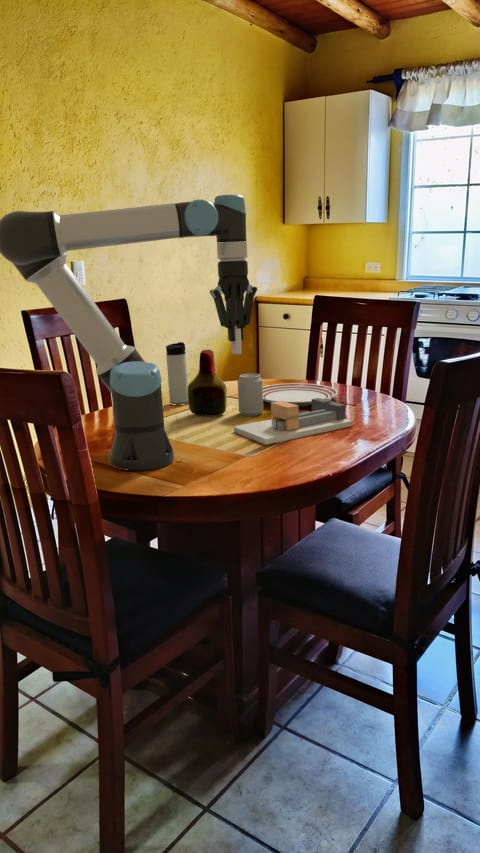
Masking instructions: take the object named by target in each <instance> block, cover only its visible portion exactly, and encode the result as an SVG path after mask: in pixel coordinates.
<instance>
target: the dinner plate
mask: <svg viewBox="0 0 480 853" xmlns="http://www.w3.org/2000/svg"><path fill="white" fill-rule="evenodd" d="M262 387H263V402H267V403H268V404H271V403H272V402H277V401H284V402H288V403H291V404H295V405H298V407H306V406H307V407H308V406H312V399H315V398H321V399H324V398H331V399H333V398H335V397H337V396H338V393H339V391H338V390H337V389H336V388H334V387H331V386H328V385H322V384H316V383H304V382H303V383H301V382H298V383H297V382H291V383H290V382H289V383H276V384H270V385H269V384H267V385H266V386H262Z"/></svg>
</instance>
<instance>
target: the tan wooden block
mask: <svg viewBox="0 0 480 853" xmlns="http://www.w3.org/2000/svg"><path fill="white" fill-rule="evenodd" d="M270 412H271V413H270V416H271V418H270V419H271V421H272V425H273V419H276V418H281V419H284V420H286V430H293V429H298V428H299V414H300V413H299V412H300V411H299V406H298V405H295V404H291V403H288V402H284V401H277V402H272V403H270Z"/></svg>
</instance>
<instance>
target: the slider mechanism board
mask: <svg viewBox="0 0 480 853" xmlns="http://www.w3.org/2000/svg"><path fill="white" fill-rule="evenodd" d="M322 409H324V410H327V412H323V413H318V414H313V415H308V416H303V417H299V428H298V429H293V430H286V420H283V421H278V422H277V429H275V428H273V425H272V421H271V418H270V419H266V420H261V421H256V422H250V423H246V424H245V423H244V424H241V425H236V426H233V432H234V433H235V434H238V435H241V436H243V437H245V438H248V439H250V440H253V441H256V442H258V443H260V444H263V445H271V444H275V443H281V442H286V441H290V440H294V439H295V440H296V439H298V438H303V437H307V436H313V435H316V434H317V435H318V434H322V433H327V432H331V431H335V430H340V429H346V428H349V427H353V421H352V420H351V419H347V418H346V404H343V403H339V402H336V401H332V398H324V399H321V398H315V399H312V405H311V411H310V412H312V411H317V410H322ZM307 412H308V411H307ZM307 412H305V413H307ZM302 413H303V412H302ZM302 413H300V414H302Z"/></svg>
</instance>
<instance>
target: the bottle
mask: <svg viewBox="0 0 480 853" xmlns="http://www.w3.org/2000/svg"><path fill="white" fill-rule="evenodd" d="M198 367H199V369H198V373H197V374H196V375H195V376H194V378H193V379H192V380H191V381H190V382H188V402H189V403H188V408H189V410H190V412H191V413H192V414H194V415H195V416H197V417H202V416H213V417H218V416H221V415H223V414H225V413H226V410H227V406H228V388H227V386H226V385H227V384H226V383H225V382H224V381H223V380H222V379H221V378H220V377H219V376H218V375H217V372H216V365H215V355H214V351H213V350H212V349H203V350H202V351H201V352H200V353H199V366H198Z"/></svg>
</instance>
